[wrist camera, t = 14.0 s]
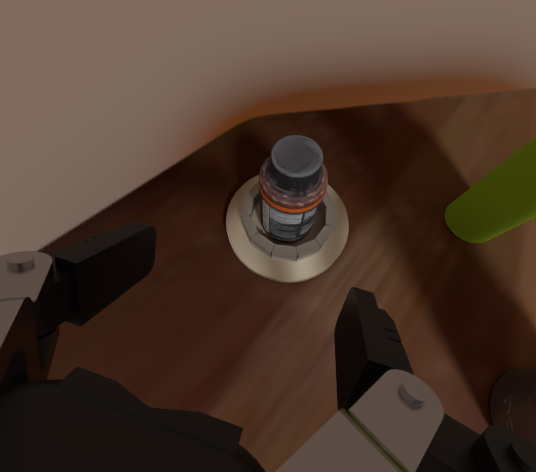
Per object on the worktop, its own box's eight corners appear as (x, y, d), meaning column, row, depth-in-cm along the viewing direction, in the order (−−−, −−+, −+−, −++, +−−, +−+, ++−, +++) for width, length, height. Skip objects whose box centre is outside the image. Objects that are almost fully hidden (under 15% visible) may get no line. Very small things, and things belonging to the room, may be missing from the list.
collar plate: (345, 183, 34) (354, 165, 31) (344, 290, 29) (354, 283, 26) (238, 170, 35) (235, 152, 32) (217, 274, 29) (211, 265, 26)
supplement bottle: (274, 190, 32) (280, 113, 22) (320, 211, 31) (349, 140, 21) (250, 231, 30) (243, 166, 19) (299, 254, 29) (319, 199, 18)
